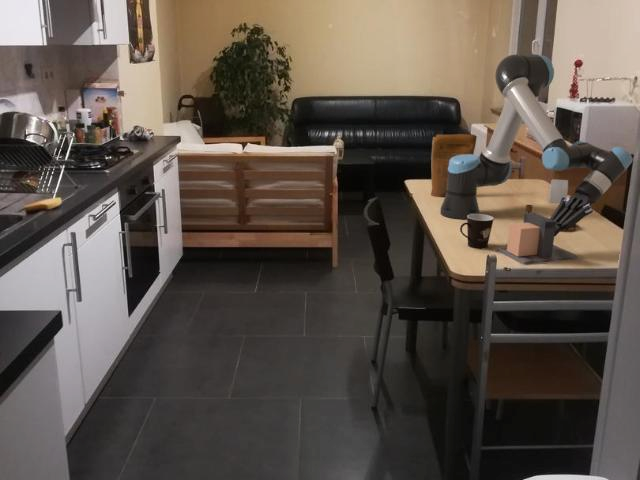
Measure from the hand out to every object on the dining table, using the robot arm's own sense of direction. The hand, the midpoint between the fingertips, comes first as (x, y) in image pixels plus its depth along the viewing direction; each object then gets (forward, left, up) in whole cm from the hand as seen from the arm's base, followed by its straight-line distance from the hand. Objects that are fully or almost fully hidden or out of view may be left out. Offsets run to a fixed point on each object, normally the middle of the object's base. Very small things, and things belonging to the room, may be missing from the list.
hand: (543, 241), depth 204 cm
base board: (-1, -1, -5) cm, 5 cm away
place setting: (+10, +39, -5) cm, 41 cm away
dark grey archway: (-2, -1, -4) cm, 4 cm away
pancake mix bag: (-29, +76, -5) cm, 82 cm away
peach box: (-5, -3, -3) cm, 7 cm away
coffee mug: (-22, +4, -5) cm, 22 cm away
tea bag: (+17, +78, -5) cm, 80 cm away
